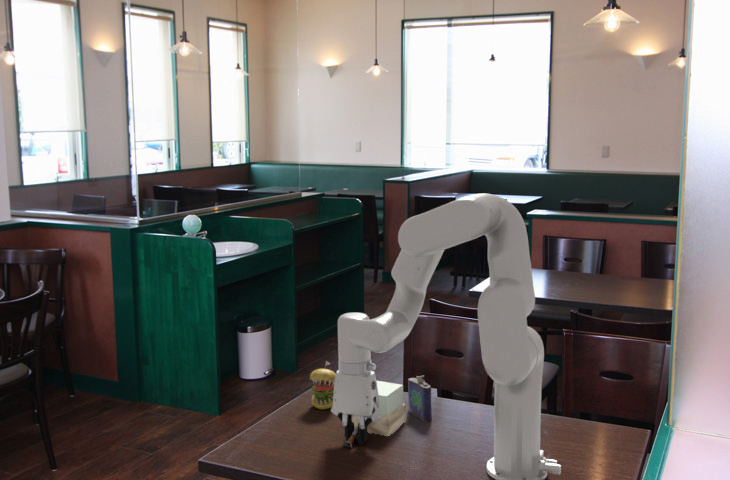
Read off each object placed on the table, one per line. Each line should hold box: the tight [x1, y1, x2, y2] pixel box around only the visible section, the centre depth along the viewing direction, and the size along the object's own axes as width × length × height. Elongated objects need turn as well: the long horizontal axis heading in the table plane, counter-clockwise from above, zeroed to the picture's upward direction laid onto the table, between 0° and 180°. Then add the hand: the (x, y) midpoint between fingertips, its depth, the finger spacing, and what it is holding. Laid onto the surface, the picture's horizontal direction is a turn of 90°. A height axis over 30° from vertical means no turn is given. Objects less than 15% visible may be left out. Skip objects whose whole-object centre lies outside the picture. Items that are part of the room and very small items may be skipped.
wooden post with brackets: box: [343, 422, 360, 449], centre depth 164 cm, size 2×8×4 cm, turn 148°
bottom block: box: [352, 402, 407, 437], centre depth 173 cm, size 10×10×5 cm
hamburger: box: [309, 360, 336, 410], centre depth 186 cm, size 8×7×12 cm
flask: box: [407, 375, 433, 423], centre depth 179 cm, size 9×3×11 cm, turn 28°
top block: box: [376, 380, 404, 416], centre depth 173 cm, size 9×9×5 cm
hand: (356, 441), depth 164 cm, fingers closed
